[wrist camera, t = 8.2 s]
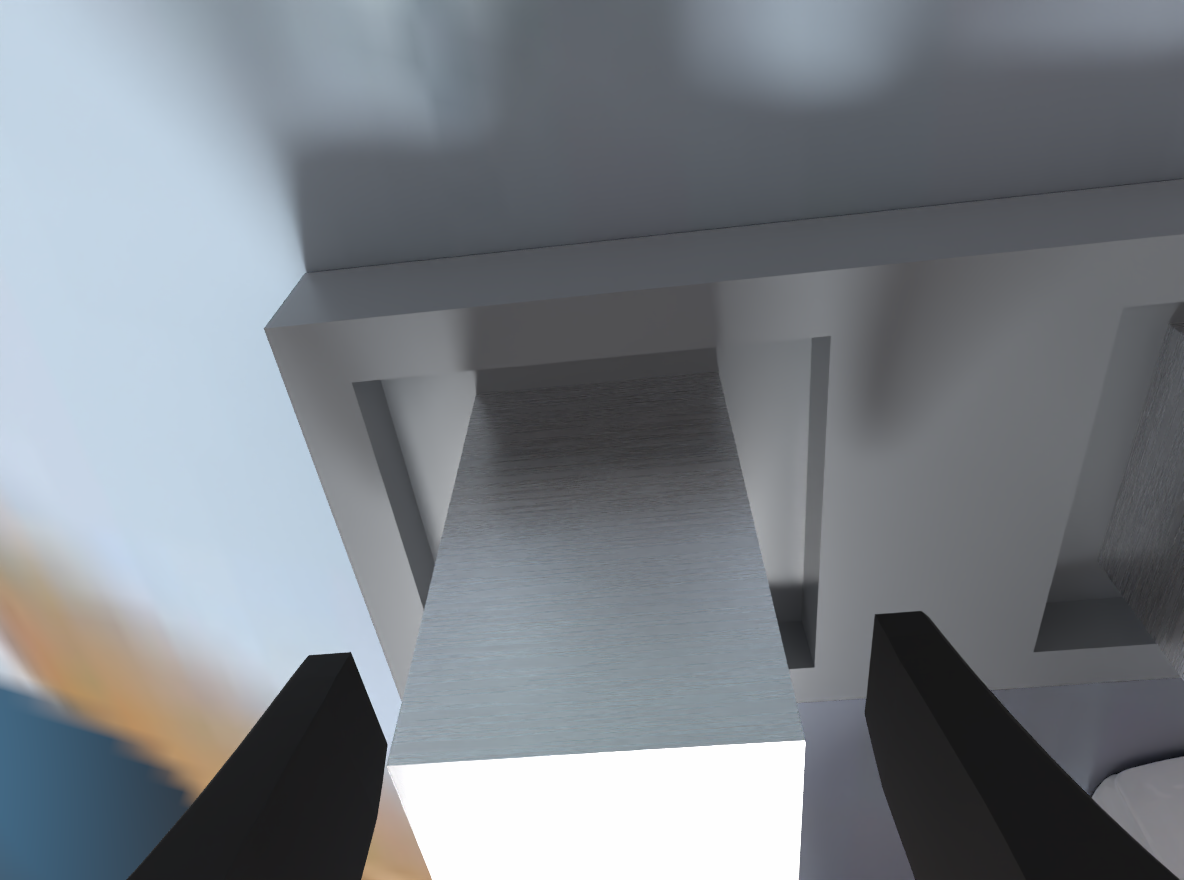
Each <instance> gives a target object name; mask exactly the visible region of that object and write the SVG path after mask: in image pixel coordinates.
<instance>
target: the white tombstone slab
mask: <svg viewBox="0 0 1184 880" xmlns="http://www.w3.org/2000/svg"><path fill="white" fill-rule="evenodd" d="M1092 799H1093V800H1094V801H1095V802H1096V803H1097V804H1098V805H1099V806H1100V807H1101V808H1102V809H1103V810H1104V811H1105V812H1106V813H1107V814H1108V815H1109V816H1111V817H1112V818H1113V819H1114V820H1115V821H1116V822H1117V823H1118V824H1119V825H1120V826H1121V827H1122V828H1123V829H1124V830H1125V831H1126V832H1128V833H1129V834H1130V835H1131V836H1132V837H1133V838H1134V839H1135V840H1136V841H1137V842H1138V843H1139V844H1141V845H1142V846H1143V847H1144V848H1145V849H1146V850H1147V851H1148V852H1149V853H1150V854H1151V855H1153V856H1154V857H1155V858H1156V859H1157V860H1158V861H1159V862H1161V863H1162V864H1163V865H1164V866H1165V867H1166V868H1167V869H1169V870H1170V871H1171V872H1172V873H1173V874H1174V875H1175V876H1177V877H1178V878H1179V879H1180V880H1184V757H1178V758H1173V759H1167V760H1163V761H1158V762H1154V763H1150V764H1146V765H1142V766H1138V767H1134V768H1130V769H1127V770H1124V771H1122V772H1120V773H1119V774H1114V775H1111V776H1109V777H1108V778H1106V779H1105V780H1104V781H1103V782H1102V783H1101V784H1100V785H1099V787H1098V788H1097V789H1096V791H1095V792H1094V794H1093V796H1092Z"/></svg>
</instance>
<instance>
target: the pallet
mask: <svg viewBox="0 0 1184 880" xmlns="http://www.w3.org/2000/svg"><path fill="white" fill-rule="evenodd" d="M1176 322H1184V179H1178V180H1169V181H1160V182H1150V183H1141V184H1132V185H1122V186H1113V187H1104V188H1094V189H1085V190H1076V191H1066V192H1057V193H1048V194H1038V195H1029V196H1020V197H1010V198H1001V199H992V200H983V201H973V202H964V203H955V204H945V205H936V206H927V207H917V208H908V209H899V210H889V211H880V212H871V213H861V214H852V215H843V216H833V217H824V218H815V219H805V220H796V221H787V222H777V223H768V224H759V225H749V226H740V227H731V228H721V229H712V230H703V231H693V232H684V233H675V234H666V235H656V236H647V237H638V238H628V239H619V240H610V241H600V242H591V243H582V244H572V245H563V246H554V247H544V248H535V249H526V250H516V251H507V252H498V253H488V254H479V255H470V256H460V257H451V258H442V259H432V260H423V261H414V262H404V263H395V264H386V265H376V266H367V267H358V268H348V269H339V270H330V271H321V272H311V273H305V274H304V275H303V277H302V278H301V279H300V281H299V282H298V284H297V285H296V286H295V288H294V289H293V290H292V292H291V293H290V294H289V296H288V297H287V298H286V300H285V301H284V302H283V304H282V305H281V306H280V308H279V309H278V310H277V312H276V313H275V314H274V316H273V317H272V319H271V320H270V321H269V323H268V324H267V325H266V327H265V328H264V330H265V333H266V335H267V338H268V341H269V343H270V346H271V349H272V352H273V354H274V357H275V360H276V362H277V365H278V368H279V370H280V373H281V376H282V379H283V381H284V384H285V387H286V389H287V392H288V395H289V398H290V400H291V403H292V406H293V408H294V411H295V414H296V416H297V419H298V422H299V425H300V427H301V430H302V433H303V435H304V438H305V441H306V444H307V446H308V449H309V452H310V454H311V457H312V460H313V463H314V465H315V468H316V471H317V473H318V476H319V479H320V481H321V484H322V487H323V490H324V492H325V495H326V498H327V500H328V503H329V506H330V509H331V511H332V514H333V517H334V519H335V522H336V525H337V527H338V530H339V533H340V536H341V538H342V541H343V544H344V546H345V549H346V552H347V555H348V557H349V560H350V563H351V565H352V568H353V571H354V574H355V576H356V579H357V582H358V584H359V587H360V590H361V592H362V595H363V598H364V601H365V603H366V606H367V609H368V611H369V614H370V617H371V620H372V622H373V625H374V628H375V630H376V633H377V636H378V638H379V641H380V644H381V647H382V649H383V652H384V655H385V657H386V660H387V663H388V666H389V668H390V671H391V674H392V676H393V679H394V682H395V684H396V687H397V690H398V693H399V695H400V698H401V701H402V699H403V695H404V691H405V687H406V683H407V679H408V674H409V670H410V666H411V662H412V658H413V654H414V650H415V645H416V641H417V637H418V633H419V629H420V625H421V621H422V616H423V612H424V608H425V604H426V600H427V596H428V591H429V587H430V583H431V579H432V575H433V571H434V567H435V562H436V558H437V554H438V550H439V546H440V542H441V537H442V533H443V529H444V525H445V521H446V517H447V513H448V508H449V504H450V500H451V496H452V492H453V488H454V484H455V479H456V475H457V471H458V467H459V463H460V459H461V454H462V450H463V446H464V442H465V438H466V434H467V430H468V425H469V421H470V417H471V413H472V409H473V405H474V401H475V396H476V394H478V393H489V392H500V391H511V390H522V389H533V388H544V387H554V386H565V385H576V384H587V383H598V382H609V381H620V380H631V379H641V378H652V377H663V376H674V375H685V374H696V373H707V372H719V376H720V380H721V384H722V389H723V393H724V397H725V401H726V406H727V410H728V414H729V418H730V423H731V427H732V431H733V435H734V440H735V444H736V448H737V452H738V457H739V461H740V465H741V469H742V474H743V478H744V482H745V486H746V491H747V495H748V499H749V503H750V508H751V512H752V516H753V520H754V525H755V529H756V533H757V537H758V541H759V546H760V550H761V554H762V558H763V563H764V567H765V571H766V575H767V580H768V584H769V588H770V592H771V597H772V601H773V605H774V609H775V614H776V618H777V622H778V626H779V631H780V635H781V639H782V643H783V648H784V652H785V656H786V660H787V665H788V669H789V673H790V677H791V682H792V686H793V690H794V694H795V698H796V703H806V702H821V701H836V700H851V699H866V696H867V686H868V676H869V667H870V657H871V647H872V637H873V627H874V617H875V614H885V613H899V612H913V611H922V612H924V613H925V614H926V615H927V616H929V618H930V619H931V620H932V621H933V623H934V624H935V625H936V626H937V628H938V629H939V630H940V631H941V633H942V634H943V635H944V636H945V638H946V639H947V640H948V641H949V642H950V644H951V645H952V646H953V647H954V649H955V650H956V651H957V652H958V653H959V655H960V656H961V657H962V658H963V659H964V661H965V662H966V663H967V664H968V665H969V667H970V668H971V669H972V670H973V671H974V673H975V674H976V675H977V676H978V677H979V678H980V679H981V681H982V682H983V683H984V684H985V685H986V686H987V688H988V689H989V690H1002V689H1017V688H1032V687H1047V686H1062V685H1077V684H1092V683H1107V682H1122V681H1137V680H1152V679H1167V678H1181V677H1180V675H1179V674H1178V672H1177V671H1176V670H1175V668H1174V667H1173V666H1172V664H1171V663H1170V661H1169V660H1168V659H1167V657H1166V656H1165V654H1164V653H1163V652H1162V650H1161V649H1160V648H1159V646H1158V645H1157V643H1156V642H1155V641H1154V639H1153V638H1152V636H1151V635H1150V634H1149V632H1148V631H1147V630H1146V628H1145V627H1144V625H1143V624H1142V623H1141V621H1140V620H1139V618H1138V617H1137V616H1136V614H1135V613H1134V612H1133V610H1132V609H1131V607H1130V606H1129V605H1128V603H1127V602H1126V600H1125V599H1124V598H1123V596H1122V595H1121V594H1120V592H1119V591H1118V589H1117V588H1116V587H1115V585H1114V584H1113V582H1112V581H1111V580H1110V578H1109V577H1108V576H1107V574H1106V573H1105V571H1104V570H1103V569H1102V567H1101V566H1100V564H1099V563H1098V558H1099V555H1100V552H1101V548H1102V545H1103V542H1104V538H1105V535H1106V531H1107V528H1108V525H1109V521H1110V518H1111V515H1112V511H1113V508H1114V504H1115V501H1116V498H1117V494H1118V491H1119V488H1120V484H1121V481H1122V477H1123V474H1124V471H1125V467H1126V464H1127V461H1128V457H1129V454H1130V451H1131V447H1132V444H1133V440H1134V437H1135V434H1136V430H1137V427H1138V424H1139V420H1140V417H1141V413H1142V410H1143V407H1144V403H1145V400H1146V397H1147V393H1148V390H1149V386H1150V383H1151V380H1152V376H1153V373H1154V370H1155V366H1156V363H1157V360H1158V356H1159V353H1160V349H1161V346H1162V343H1163V339H1164V336H1165V333H1166V329H1167V326H1168V323H1176Z"/></svg>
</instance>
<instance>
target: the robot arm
mask: <svg viewBox="0 0 1184 880" xmlns="http://www.w3.org/2000/svg"><path fill="white" fill-rule="evenodd" d="M865 717H866V721H867V725H868V730H869V734H870V738H871V743H872V747H873V751H874V755H875V759H876V763H877V767H878V771H879V775H880V779H881V783H882V787H883V790H884V793H885V796H886V799H887V802H888V805H889V807H890V810H891V813H892V816H893V819H894V821H895V824H896V827H897V830H898V833H899V835H900V838H901V841H902V844H903V847H904V849H905V852H906V855H907V858H908V860H909V863H910V866H911V869H912V871H913V874H914V877H915V880H1180V879H1179V878H1178V877H1177V876H1175V875H1174V874H1173V873H1172V872H1171V871H1170V870H1169V869H1167V868H1166V867H1165V866H1164V865H1163V864H1162V863H1161V862H1159V861H1158V860H1157V859H1156V858H1155V857H1154V856H1153V855H1151V854H1150V853H1149V852H1148V851H1147V850H1146V849H1145V848H1144V847H1143V846H1142V845H1141V844H1139V843H1138V842H1137V841H1136V840H1135V839H1134V838H1133V837H1132V836H1131V835H1130V834H1129V833H1128V832H1126V831H1125V830H1124V829H1123V828H1122V827H1121V826H1120V825H1119V824H1118V823H1117V822H1116V821H1115V820H1114V819H1113V818H1112V817H1111V816H1109V815H1108V814H1107V813H1106V812H1105V811H1104V810H1103V809H1102V808H1101V807H1100V806H1099V805H1098V804H1097V803H1096V802H1095V801H1094V800H1093V799H1092V798H1091V797H1090V796H1089V795H1088V794H1087V793H1086V792H1085V791H1084V790H1083V789H1082V788H1081V787H1080V786H1079V785H1078V784H1077V783H1076V782H1075V781H1074V780H1073V779H1072V778H1071V777H1070V776H1069V775H1068V774H1067V773H1066V772H1065V771H1064V770H1063V769H1062V768H1061V767H1060V766H1059V765H1058V764H1057V763H1056V762H1055V761H1054V760H1053V759H1052V758H1051V757H1050V756H1049V754H1048V753H1047V752H1046V751H1045V750H1044V749H1043V748H1042V747H1041V746H1040V745H1039V744H1038V743H1037V742H1036V741H1035V739H1034V738H1033V737H1032V736H1031V735H1030V734H1029V733H1028V732H1027V731H1026V730H1025V729H1024V728H1023V727H1022V726H1021V724H1020V723H1019V722H1018V721H1017V720H1016V719H1015V718H1014V717H1013V716H1012V715H1011V714H1010V713H1009V711H1008V710H1007V709H1006V708H1005V707H1004V706H1003V705H1002V704H1001V702H1000V701H999V700H998V699H997V698H996V697H995V696H994V695H993V693H992V692H991V691H990V690H989V689H988V688H987V686H986V685H985V684H984V683H983V682H982V681H981V679H980V678H979V677H978V676H977V675H976V674H975V673H974V671H973V670H972V669H971V668H970V667H969V665H968V664H967V663H966V662H965V661H964V659H963V658H962V657H961V656H960V655H959V653H958V652H957V651H956V650H955V649H954V647H953V646H952V645H951V644H950V642H949V641H948V640H947V639H946V638H945V636H944V635H943V634H942V633H941V631H940V630H939V629H938V628H937V626H936V625H935V624H934V623H933V621H932V620H931V619H930V618H929V616H927V615H926V614H925V613H924V612H922V611H913V612H899V613H885V614H875V617H874V627H873V637H872V647H871V657H870V667H869V676H868V686H867V696H866V706H865ZM386 752H387V742H386V739H385V737H384V734H383V732H382V729H381V727H380V724H379V722H378V719H377V717H376V714H375V712H374V709H373V707H372V704H371V702H370V699H369V697H368V694H367V692H366V689H365V687H364V684H363V682H362V679H361V677H360V674H359V672H358V669H357V667H356V664H355V662H354V659H353V657H352V654H351V652H349V653H335V654H321V655H309V656H308V657H307V658H306V659H305V660H304V662H303V663H302V664H301V665H300V667H299V668H298V669H297V671H296V672H295V673H294V674H293V676H292V677H291V678H290V680H289V681H288V682H287V684H286V685H285V686H284V688H283V689H282V690H281V692H280V693H279V694H278V695H277V697H276V698H275V699H274V701H273V702H272V703H271V705H270V706H269V707H268V709H267V710H266V711H265V713H264V714H263V715H262V717H261V718H260V719H259V720H258V722H257V723H256V724H255V726H254V727H253V728H252V730H251V731H250V732H249V734H248V735H247V736H246V737H245V739H244V740H243V741H242V743H241V744H240V745H239V747H238V748H237V749H236V750H235V752H234V753H233V754H232V755H231V757H230V758H229V759H228V760H227V762H226V763H225V764H224V765H223V767H222V768H221V769H220V770H219V772H218V773H217V774H216V775H215V777H214V778H213V779H212V780H211V782H210V783H209V784H208V785H207V787H206V788H205V789H204V790H203V792H202V793H201V794H200V795H199V797H198V798H197V799H196V800H195V801H194V803H193V804H192V805H191V806H190V808H189V809H188V810H187V811H186V812H185V813H184V815H183V816H182V817H181V818H180V819H179V820H178V821H177V823H176V824H175V825H174V826H173V827H172V828H171V830H170V831H169V832H168V833H167V834H166V835H165V837H164V838H163V839H162V840H161V841H160V842H159V844H158V845H157V846H156V847H155V848H154V849H153V851H152V852H151V853H150V854H149V855H148V856H147V857H146V859H145V860H144V861H143V862H142V863H141V864H140V865H139V867H138V868H137V869H136V870H135V871H134V872H133V873H132V874H131V875H130V876H129V878H128V879H127V880H361V878H362V874H363V870H364V866H365V863H366V859H367V855H368V851H369V847H370V843H371V840H372V836H373V832H374V828H375V824H376V820H377V815H378V808H379V802H380V796H381V789H382V782H383V775H384V767H385V759H386Z"/></svg>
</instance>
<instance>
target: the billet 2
mask: <svg viewBox="0 0 1184 880" xmlns="http://www.w3.org/2000/svg"><path fill="white" fill-rule="evenodd" d="M1098 563H1099V564H1100V566H1101V567H1102V569H1103V570H1104V571H1105V573H1106V574H1107V576H1108V577H1109V578H1110V580H1111V581H1112V582H1113V584H1114V585H1115V587H1116V588H1117V589H1118V591H1119V592H1120V594H1121V595H1122V596H1123V598H1124V599H1125V600H1126V602H1127V603H1128V605H1129V606H1130V607H1131V609H1132V610H1133V612H1134V613H1135V614H1136V616H1137V617H1138V618H1139V620H1140V621H1141V623H1142V624H1143V625H1144V627H1145V628H1146V630H1147V631H1148V632H1149V634H1150V635H1151V636H1152V638H1153V639H1154V641H1155V642H1156V643H1157V645H1158V646H1159V648H1160V649H1161V650H1162V652H1163V653H1164V654H1165V656H1166V657H1167V659H1168V660H1169V661H1170V663H1171V664H1172V666H1173V667H1174V668H1175V670H1176V671H1177V672H1178V674H1179V675H1180V677H1181V678H1182V679H1183V681H1184V322H1176V323H1168V326H1167V329H1166V333H1165V336H1164V339H1163V343H1162V346H1161V349H1160V353H1159V356H1158V360H1157V363H1156V366H1155V370H1154V373H1153V376H1152V380H1151V383H1150V386H1149V390H1148V393H1147V397H1146V400H1145V403H1144V407H1143V410H1142V413H1141V417H1140V420H1139V424H1138V427H1137V430H1136V434H1135V437H1134V440H1133V444H1132V447H1131V451H1130V454H1129V457H1128V461H1127V464H1126V467H1125V471H1124V474H1123V477H1122V481H1121V484H1120V488H1119V491H1118V494H1117V498H1116V501H1115V504H1114V508H1113V511H1112V515H1111V518H1110V521H1109V525H1108V528H1107V531H1106V535H1105V538H1104V542H1103V545H1102V548H1101V552H1100V555H1099V558H1098Z"/></svg>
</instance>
